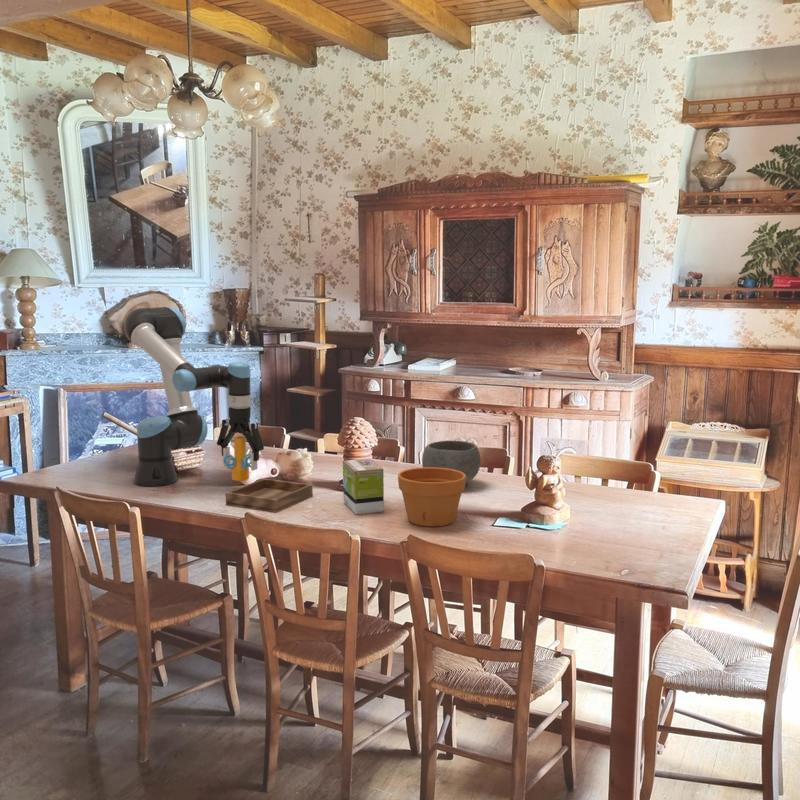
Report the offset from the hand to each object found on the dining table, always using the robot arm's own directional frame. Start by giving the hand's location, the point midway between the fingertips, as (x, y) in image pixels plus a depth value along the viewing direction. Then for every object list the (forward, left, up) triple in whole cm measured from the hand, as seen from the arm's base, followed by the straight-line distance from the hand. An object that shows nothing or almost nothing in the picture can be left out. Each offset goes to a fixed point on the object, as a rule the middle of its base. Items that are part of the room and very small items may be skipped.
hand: (240, 467), depth 296 cm
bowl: (+64, +39, -8) cm, 76 cm away
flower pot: (+75, -3, -8) cm, 76 cm away
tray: (+17, -7, -8) cm, 21 cm away
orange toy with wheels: (0, 0, -4) cm, 4 cm away
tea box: (+49, 0, -8) cm, 50 cm away
